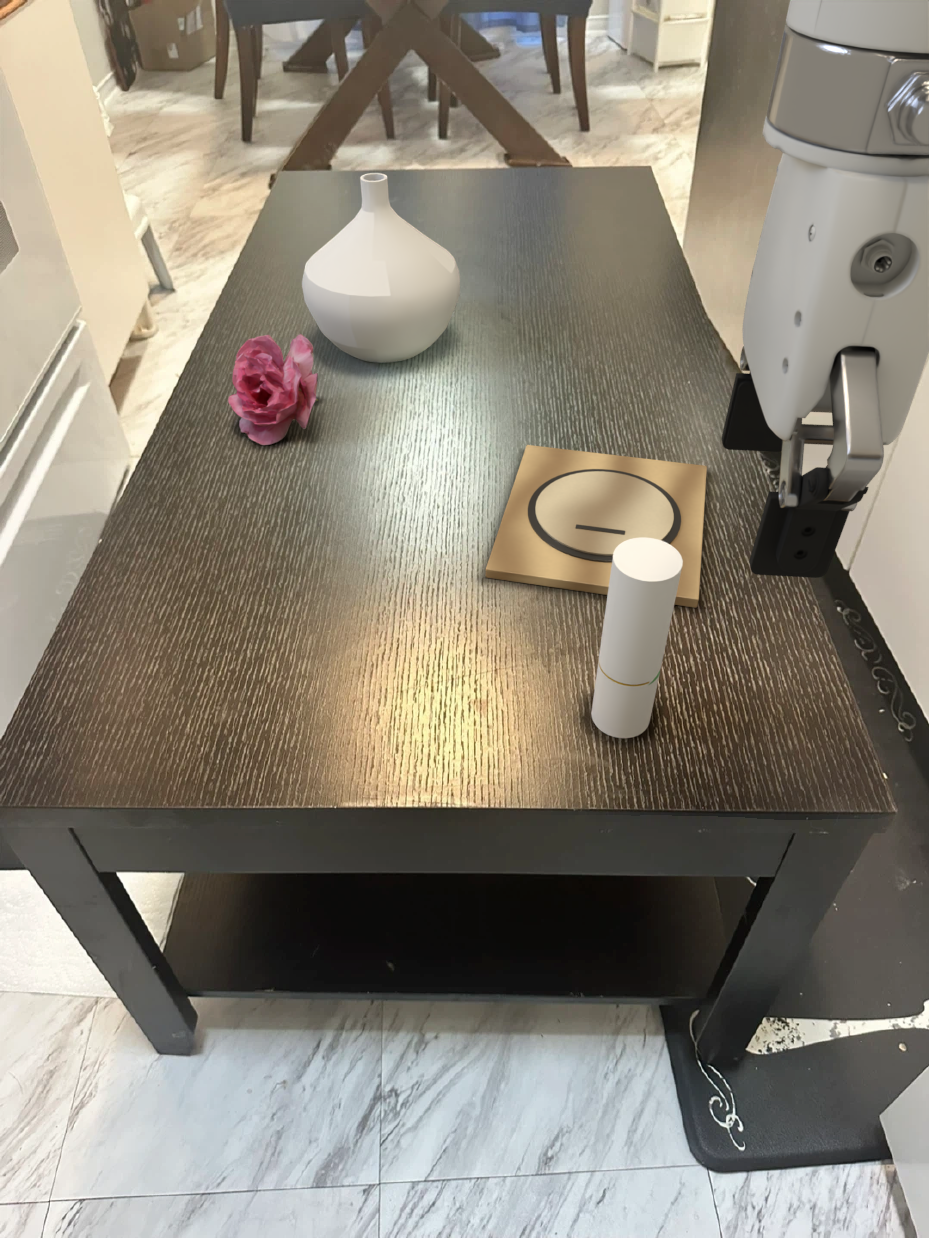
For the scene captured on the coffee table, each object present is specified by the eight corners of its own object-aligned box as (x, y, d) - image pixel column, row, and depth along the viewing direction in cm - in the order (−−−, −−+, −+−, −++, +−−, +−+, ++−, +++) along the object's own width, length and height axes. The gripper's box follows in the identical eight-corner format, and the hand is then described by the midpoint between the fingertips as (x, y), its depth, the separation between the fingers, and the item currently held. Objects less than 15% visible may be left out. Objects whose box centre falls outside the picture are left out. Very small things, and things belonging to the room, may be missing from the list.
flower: (275, 479, 93) (202, 414, 88) (272, 436, 101) (205, 373, 95) (356, 412, 91) (287, 339, 85) (347, 373, 98) (283, 304, 92)
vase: (491, 346, 108) (494, 178, 95) (371, 398, 99) (355, 221, 86) (398, 299, 118) (388, 141, 105) (281, 342, 109) (254, 176, 96)
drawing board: (705, 474, 88) (708, 461, 87) (696, 608, 74) (699, 595, 73) (526, 452, 91) (526, 440, 90) (485, 577, 77) (485, 564, 76)
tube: (612, 746, 63) (639, 589, 53) (580, 706, 66) (599, 549, 56) (661, 724, 65) (696, 568, 54) (627, 686, 67) (655, 530, 57)
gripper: (1114, 183, 24) (898, 638, 35) (926, 41, 36) (812, 413, 48) (825, 176, 24) (707, 628, 36) (738, 38, 36) (672, 407, 48)
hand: (767, 504), depth 42 cm, fingers open, 9 cm apart
